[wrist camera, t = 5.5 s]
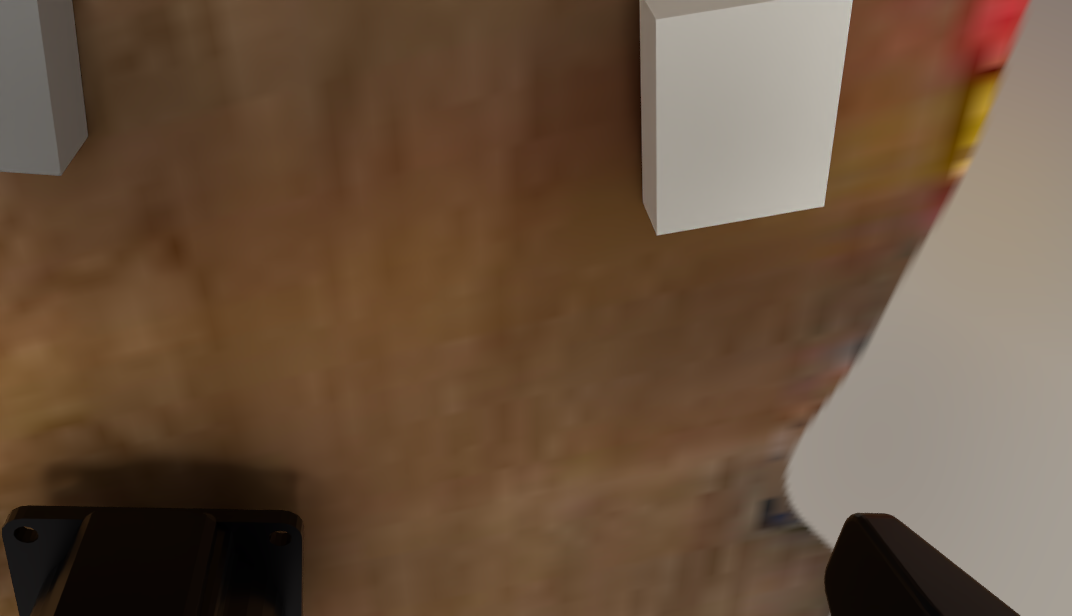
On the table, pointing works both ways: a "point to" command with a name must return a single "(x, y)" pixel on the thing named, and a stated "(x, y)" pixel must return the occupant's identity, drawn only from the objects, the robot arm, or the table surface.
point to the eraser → (738, 107)
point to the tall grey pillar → (39, 87)
